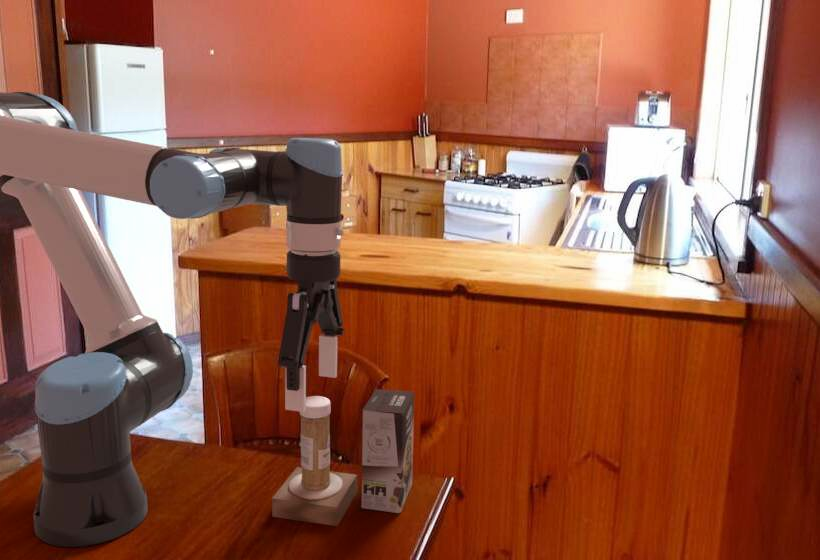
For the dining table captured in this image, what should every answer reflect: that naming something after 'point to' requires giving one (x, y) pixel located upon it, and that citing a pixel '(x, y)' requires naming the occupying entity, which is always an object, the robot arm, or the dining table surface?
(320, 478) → the sprinkles bottle
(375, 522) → the dining table surface
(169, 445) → the dining table surface
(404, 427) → the coffee box
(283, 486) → the base
